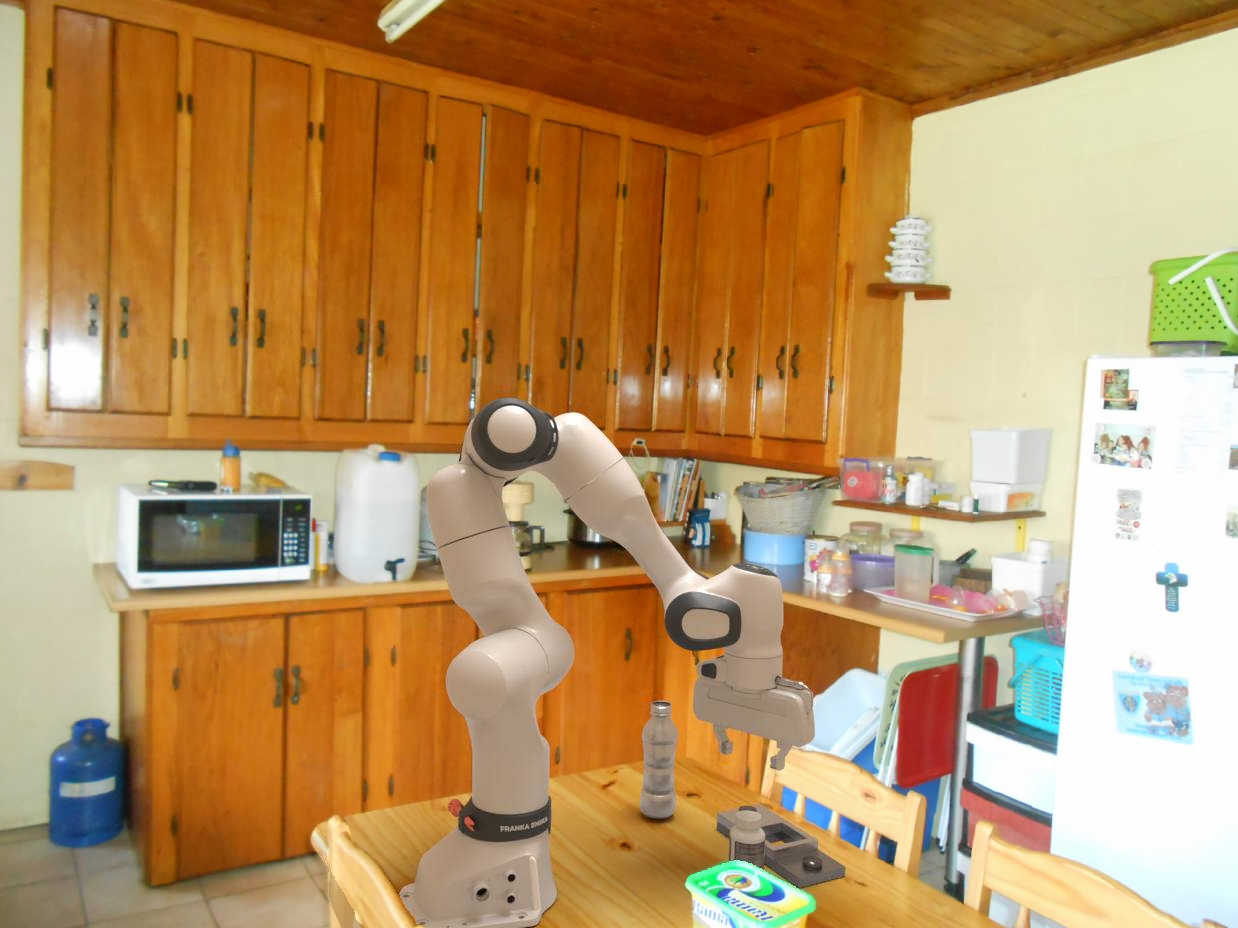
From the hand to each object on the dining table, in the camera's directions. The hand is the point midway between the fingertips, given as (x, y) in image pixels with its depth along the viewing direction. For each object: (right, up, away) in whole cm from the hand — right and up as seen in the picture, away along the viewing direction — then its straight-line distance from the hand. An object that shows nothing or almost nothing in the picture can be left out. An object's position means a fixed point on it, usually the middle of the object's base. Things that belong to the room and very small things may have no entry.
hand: (751, 760), depth 143 cm
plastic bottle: (-13, -17, +22) cm, 31 cm away
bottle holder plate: (+6, -18, +10) cm, 21 cm away
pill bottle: (-1, -18, +1) cm, 18 cm away
